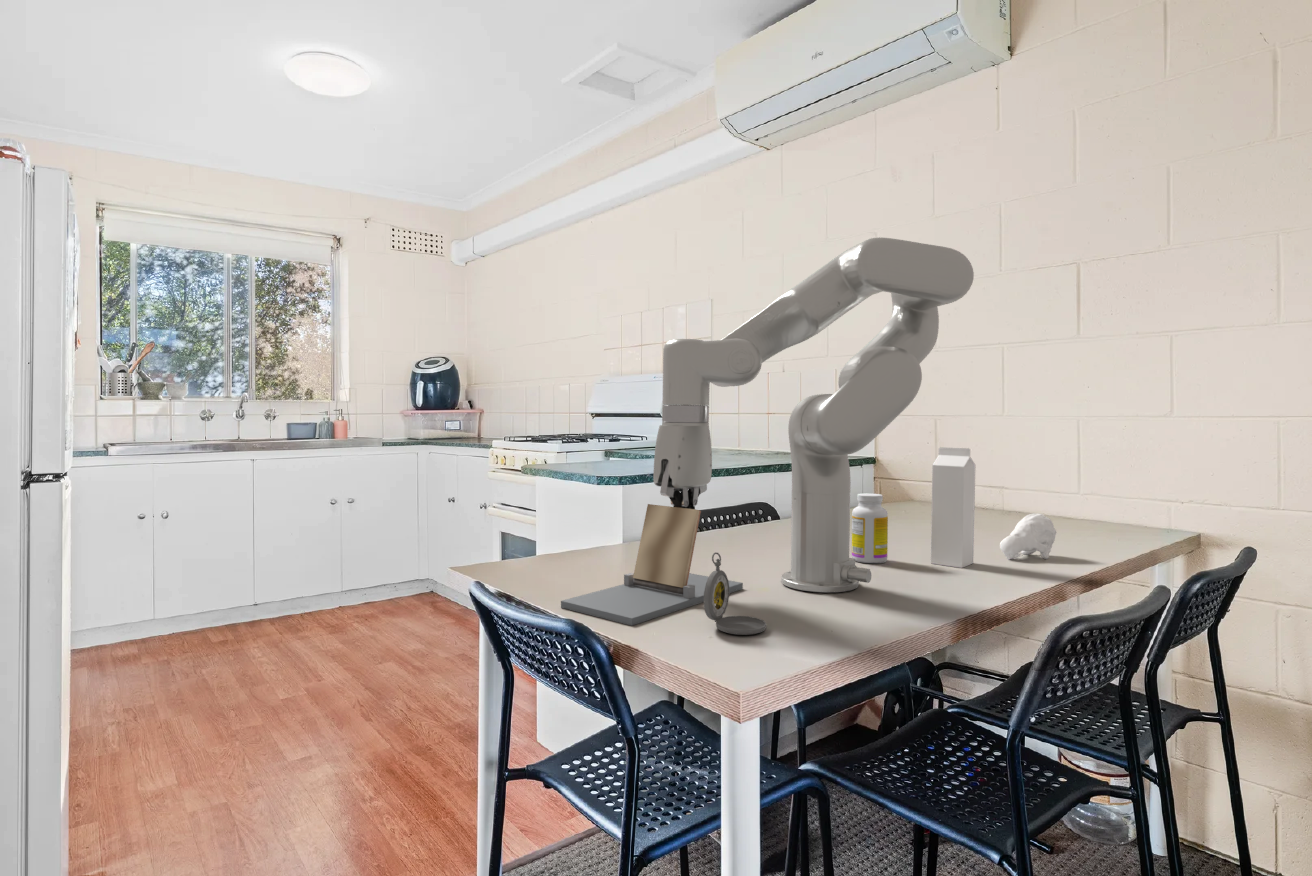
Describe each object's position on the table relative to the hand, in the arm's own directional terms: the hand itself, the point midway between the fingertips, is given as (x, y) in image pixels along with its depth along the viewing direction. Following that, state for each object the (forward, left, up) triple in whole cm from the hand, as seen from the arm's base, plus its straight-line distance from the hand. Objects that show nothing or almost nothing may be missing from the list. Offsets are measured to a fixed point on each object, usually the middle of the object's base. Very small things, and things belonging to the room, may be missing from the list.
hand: (683, 530), depth 122 cm
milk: (-26, -49, -10) cm, 57 cm away
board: (0, +7, -10) cm, 12 cm away
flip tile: (0, +4, -2) cm, 5 cm away
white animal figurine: (-35, -64, -10) cm, 74 cm away
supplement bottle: (-13, -41, -10) cm, 45 cm away
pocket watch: (-18, +13, -10) cm, 24 cm away
